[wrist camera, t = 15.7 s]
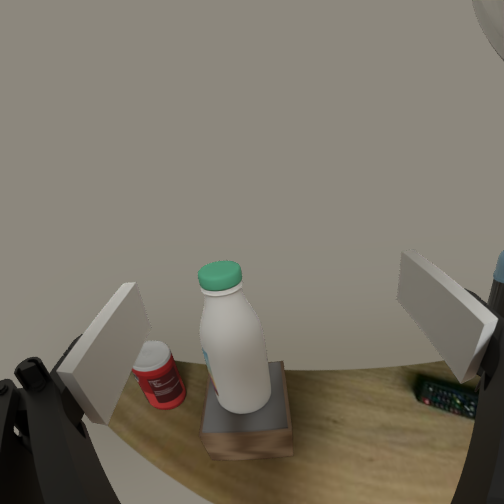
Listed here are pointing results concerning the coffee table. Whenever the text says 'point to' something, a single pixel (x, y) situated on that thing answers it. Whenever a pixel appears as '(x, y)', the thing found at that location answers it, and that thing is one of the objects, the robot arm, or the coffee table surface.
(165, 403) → the canned food
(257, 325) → the milk bottle
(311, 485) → the coffee table surface
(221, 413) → the riser
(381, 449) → the coffee table surface
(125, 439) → the coffee table surface
